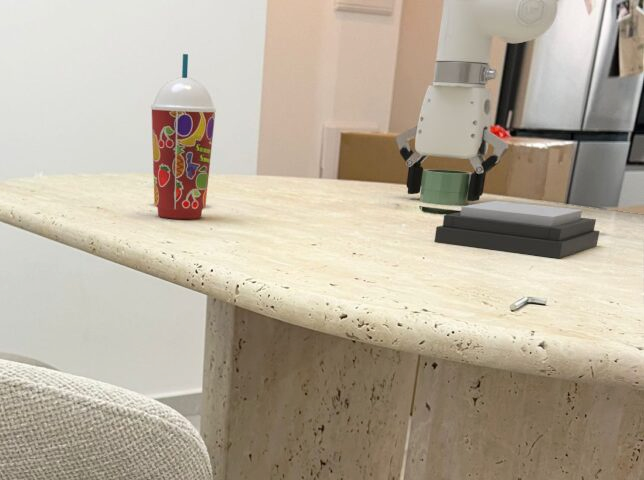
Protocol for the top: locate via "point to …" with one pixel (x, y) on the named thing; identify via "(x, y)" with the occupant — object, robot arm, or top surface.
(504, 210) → the pan
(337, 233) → the top surface
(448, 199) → the green stacked cylinder
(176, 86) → the smoothie
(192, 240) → the top surface
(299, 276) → the top surface
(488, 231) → the scale
